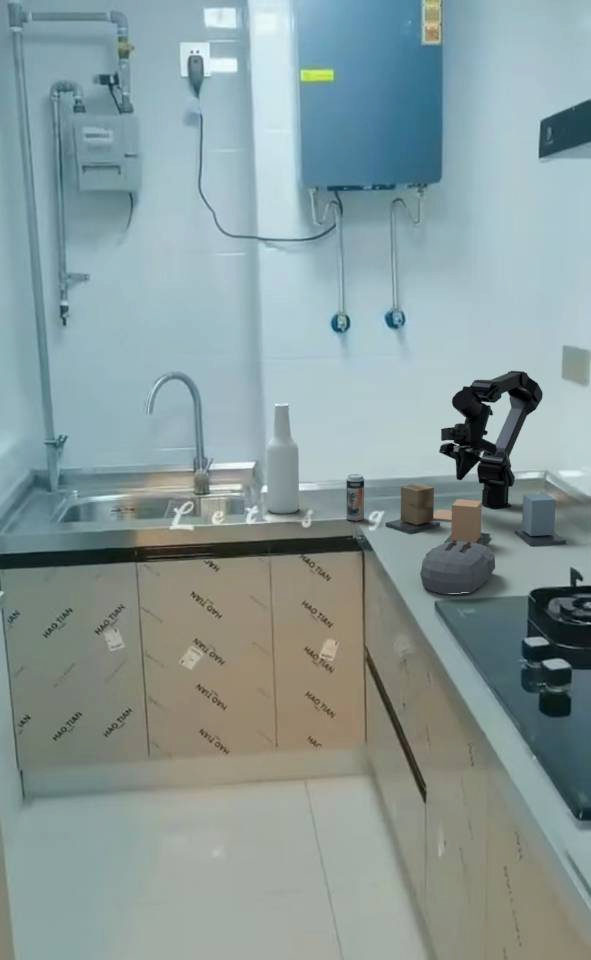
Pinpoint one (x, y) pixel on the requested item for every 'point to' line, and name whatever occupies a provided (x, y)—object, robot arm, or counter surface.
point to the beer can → (355, 497)
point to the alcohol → (282, 465)
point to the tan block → (466, 520)
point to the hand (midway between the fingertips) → (458, 479)
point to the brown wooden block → (417, 503)
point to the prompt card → (443, 515)
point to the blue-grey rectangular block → (538, 514)
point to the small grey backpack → (457, 567)
